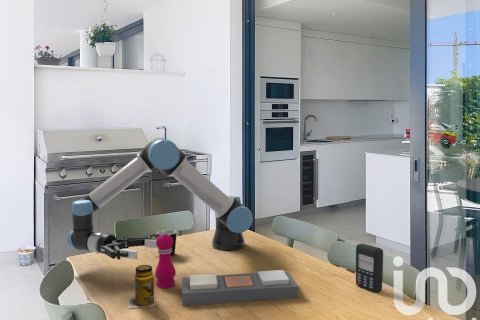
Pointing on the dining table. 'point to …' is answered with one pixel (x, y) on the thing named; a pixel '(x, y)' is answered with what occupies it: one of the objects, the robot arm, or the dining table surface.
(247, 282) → the key terracotta
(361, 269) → the card reader
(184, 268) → the dining table surface
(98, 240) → the robot arm
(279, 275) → the key grey
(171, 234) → the coffee mug
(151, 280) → the condiment
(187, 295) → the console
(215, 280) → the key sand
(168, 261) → the pepper mill
